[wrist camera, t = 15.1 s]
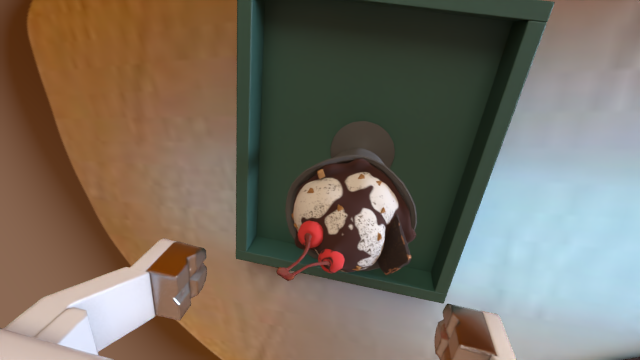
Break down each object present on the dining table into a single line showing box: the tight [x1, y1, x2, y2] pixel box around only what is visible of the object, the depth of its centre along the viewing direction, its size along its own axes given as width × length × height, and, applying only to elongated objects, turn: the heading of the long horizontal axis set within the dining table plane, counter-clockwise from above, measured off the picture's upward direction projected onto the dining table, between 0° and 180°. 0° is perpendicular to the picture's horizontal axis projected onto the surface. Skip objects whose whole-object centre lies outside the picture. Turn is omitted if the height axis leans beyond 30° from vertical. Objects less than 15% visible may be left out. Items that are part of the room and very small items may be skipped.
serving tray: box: [236, 0, 554, 303], centre depth 25 cm, size 22×18×3 cm
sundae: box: [277, 121, 417, 281], centre depth 19 cm, size 7×7×15 cm
